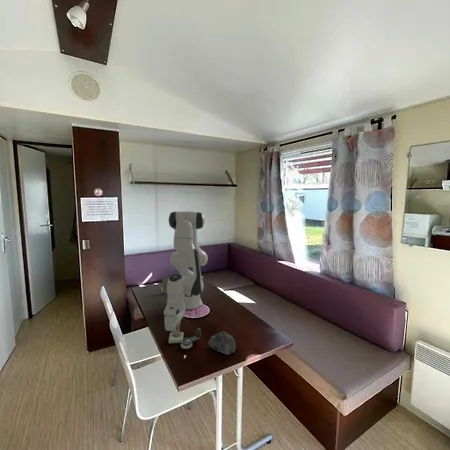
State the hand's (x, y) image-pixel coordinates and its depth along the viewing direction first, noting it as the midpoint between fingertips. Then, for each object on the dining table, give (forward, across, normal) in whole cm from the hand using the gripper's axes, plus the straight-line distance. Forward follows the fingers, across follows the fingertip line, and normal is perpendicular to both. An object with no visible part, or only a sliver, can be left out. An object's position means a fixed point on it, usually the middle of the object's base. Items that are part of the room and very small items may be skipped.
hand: (176, 330), depth 137 cm
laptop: (+6, -69, -31) cm, 76 cm away
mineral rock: (+6, +3, +26) cm, 27 cm away
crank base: (+5, +8, +8) cm, 13 cm away
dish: (+5, 0, 0) cm, 5 cm away
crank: (+4, +2, +9) cm, 10 cm away
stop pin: (+3, 0, 0) cm, 3 cm away
